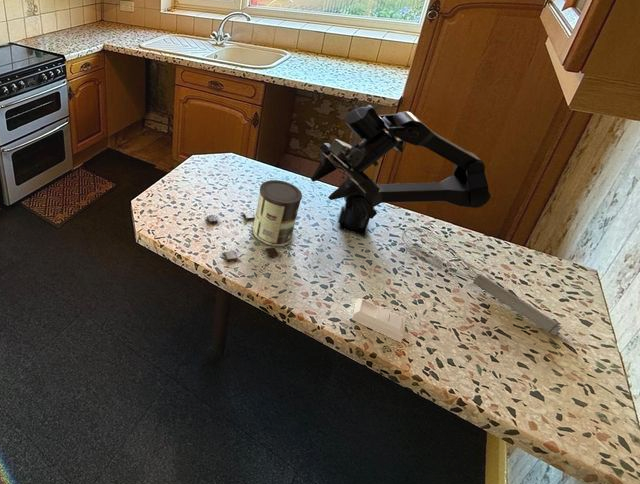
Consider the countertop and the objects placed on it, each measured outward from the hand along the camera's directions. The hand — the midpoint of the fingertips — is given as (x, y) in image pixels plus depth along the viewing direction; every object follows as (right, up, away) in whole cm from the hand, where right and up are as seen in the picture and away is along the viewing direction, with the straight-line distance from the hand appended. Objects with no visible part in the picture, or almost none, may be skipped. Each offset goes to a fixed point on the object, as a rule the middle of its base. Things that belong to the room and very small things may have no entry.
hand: (320, 189), depth 104 cm
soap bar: (+2, -25, -20) cm, 32 cm away
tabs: (-20, -13, +4) cm, 24 cm away
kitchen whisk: (+31, -21, -10) cm, 38 cm away
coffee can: (-11, -13, +5) cm, 18 cm away
